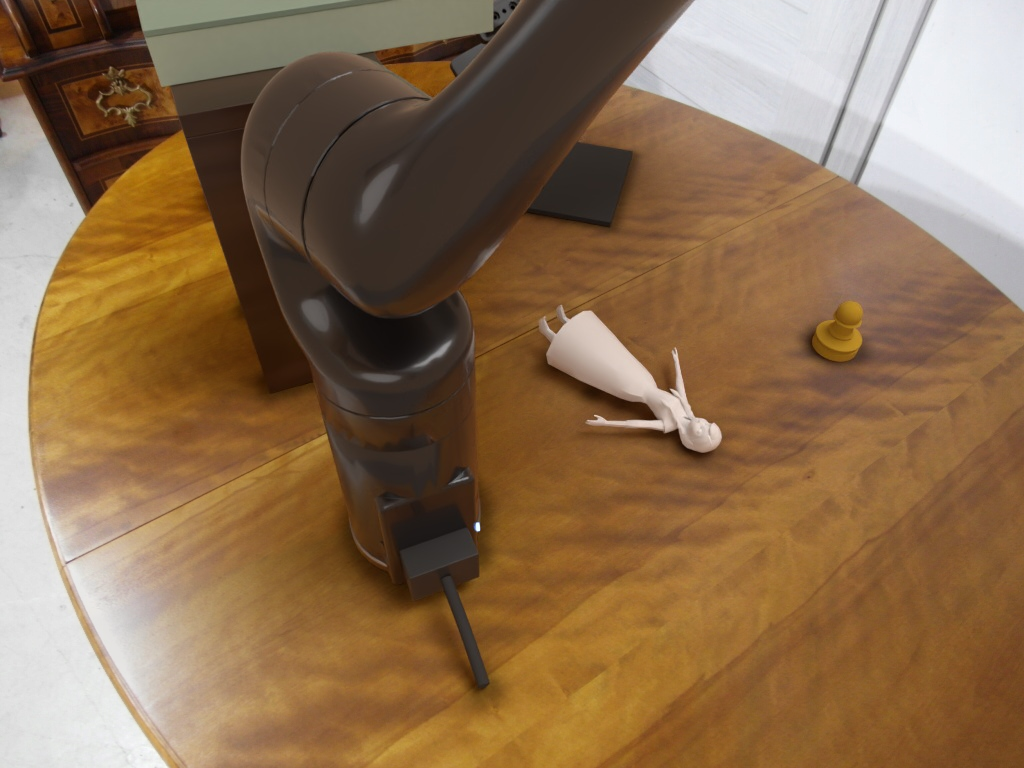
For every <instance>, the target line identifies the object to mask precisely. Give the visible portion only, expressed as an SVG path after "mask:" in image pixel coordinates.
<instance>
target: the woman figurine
mask: <svg viewBox="0 0 1024 768" xmlns="http://www.w3.org/2000/svg"><path fill="white" fill-rule="evenodd" d="M555 312H556V315H555V317H556V318H557V320H558V321H559V322H560V323H561V324H563V325H562V327H560V329H559V330H558V331H557V333H556V332H554V331H553V330H552V329H550V327H549V324H548V322H547V320H546V318H547V316H543V317H542V318H540V319H539V320H538V331H539V332H540V333H541V334H542V335H543V336H544V337H545V338H546V339H547V340H548V341H549V343H550V345H549V347H548V350H547V351H546V354H545V356H546V361H547V364H548V365H549V366H551V367H553V368H555V369H557V370H559V371H561V372H562V373H564V374H567V375H568V376H571V377H572V378H575V379H576V380H578V381H580V382H582V383H585V384H587V385H589V386H592V387H594V388H596V389H598V390H601V391H603V392H605V393H607V394H610V395H612V396H614V397H617V398H619V399H621V400H624V401H628V402H632V403H633V402H634V403H635V402H637V403H638V402H639V403H643V404H646V405H647V406H648V408H649V409H650V411H652V413H653V415H654V417H655V418H656V419H653V420H649V419H647V420H645V419H627V420H626V419H625V420H606V419H605V418H604V417H602V416H600V415H597V414H594V415H593V417H595V418H597V419H596V420H591V419H586V421H585V424H586V425H588V426H593V427H616V428H617V427H618V428H626V429H648V430H656V431H660V432H662V433H663V434H667V433H670V432H675V431H677V430H678V435H679V438H680V441H681V443H682V445H683V446H684V447H685V448H686V449H688V450H691V451H695V452H697V453H701V454H703V453H708V452H712V451H715V450H716V449H717V448H718V447H719V445H720V444H721V442H722V439H723V434H722V431H721V429H720V427H719V426H718V425H717V424H716V423H715V422H712V423H711V422H708V420H707V419H705V418H702V417H696V416H695V415H694V412H693V411H692V406H691V404H689V401H688V398H687V394H686V389H685V385H684V384H685V383H684V379H683V375H682V371H681V366H680V360H679V354H678V351H677V347H673V349H672V350H671V355H672V357H673V364H674V371H675V389H673V388H669V390H670V392H671V393H670V392H669V391H666V390H663V389H661V388H658V386H657V383H656V381H655V379H654V377H653V375H652V374H651V372H650V371H649V370H648V369H647V367H645V366H644V365H643V364H642V363H641V362H640V361H639V359H637V358H636V357H635V356H634V355H633V354H632V353H631V352H630V351H629V350H628V349H627V348H626V347H625V345H624V344H623V343H622V342H621V341H620V340H619V339H618V338H617V336H616V335H615V334H614V333H613V332H612V331H611V330H610V328H608V326H607V325H606V324H605V323H604V322H603V321H602V320H601V319H600V318H599V317H598V315H596V313H594V312H593V310H582V311H581V312H579V313H577V314H576V315H573V316H572V318H568V317H567V315H566V314H565V310H564V308H563V304H560V305H558V306H557V307H556V310H555Z"/></svg>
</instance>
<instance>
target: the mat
mask: <svg viewBox="0 0 1024 768" xmlns="http://www.w3.org/2000/svg"><path fill="white" fill-rule="evenodd" d="M633 153H634V151H633V150H629V149H622V148H617V147H610V146H603V145H597V144H593V143H592V144H591V143H587V142H586V143H585V142H579V141H578V142H577V143H576V144H575V146H574V147H573V148H572V150H571V151H570V153H569V154H568V155H567V157H566V158H565V159H564V161H563V162H562V163H561V165H560V166H559V167H558V169H557V170H556V171H555V173H554V174H553V176H552V177H551V178H550V180H549V181H548V182H547V184H546V185H545V186H544V188H543V189H542V190H541V192H540V193H539V194H538V196H537V197H536V199H535V200H534V201H533V203H532V204H531V205H530V207H529V208H528V209H527V211H526V212H525V213H530V214H535V215H540V216H548V217H553V218H558V219H564V220H569V221H575V222H580V223H586V224H592V225H597V226H603V227H609V228H610V227H611V226H612V223H613V220H614V216H615V213H616V210H617V207H618V203H619V200H620V198H621V197H620V196H621V193H622V190H623V187H624V183H625V180H626V177H627V175H628V170H629V167H630V164H631V160H632V157H633Z"/></svg>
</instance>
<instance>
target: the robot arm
mask: <svg viewBox="0 0 1024 768" xmlns="http://www.w3.org/2000/svg"><path fill="white" fill-rule="evenodd" d="M695 1H696V0H497V1H495V2H493V31H492V32H486V33H480V34H475V36H476V38H477V40H478V41H479V44H477V45H475V46H473V47H471V48H469V49H468V50H466V51H464V52H463V53H460V54H459V55H457V56H455V57H454V58H452V59H451V61H450V64H449V69H450V71H451V72H452V75H454V77H455V78H454V79H452V81H450V83H448V84H447V85H446V86H445V87H444V88H443V89H442V90H440V91H439V93H437V94H436V95H435V96H434V97H433V96H431V95H429V94H428V93H426V92H425V91H423V90H422V89H420V88H419V87H417V86H415V85H414V84H412V83H410V82H409V81H407V80H406V79H405V78H404V77H402V76H400V75H399V74H397V73H396V72H394V71H392V70H391V69H389V68H387V67H385V66H384V65H383V64H382V65H383V66H382V65H380V64H379V63H377V62H375V61H373V60H370V59H368V58H365V57H363V56H360V55H357V54H353V53H348V52H340V51H332V52H321V53H315V54H312V55H308V56H305V57H303V58H300V59H297V60H296V61H294V62H292V63H290V64H288V65H287V66H286V67H284V68H283V69H282V70H280V71H279V72H278V73H277V74H276V75H275V76H274V77H273V78H272V79H271V80H270V81H269V82H268V83H267V84H266V85H265V87H264V88H263V90H262V91H261V92H260V94H259V96H258V97H257V99H256V101H255V103H254V105H253V107H252V109H251V111H250V113H249V116H248V119H247V122H246V125H245V129H244V133H243V138H242V145H241V176H242V184H243V190H244V195H245V200H246V204H247V208H248V211H249V215H250V219H251V222H252V225H253V229H254V232H255V235H256V238H257V241H258V244H259V247H260V250H261V253H262V256H263V260H264V263H265V266H266V269H267V272H268V275H269V278H270V281H271V284H272V287H273V290H274V293H275V296H276V299H277V302H278V304H279V307H280V310H281V313H282V315H283V317H284V320H285V322H286V324H287V326H288V328H289V330H290V332H291V333H292V335H293V337H294V338H295V340H296V342H297V343H298V345H299V347H300V348H301V350H302V352H303V353H304V355H305V357H306V359H307V361H308V364H309V367H310V371H311V374H312V378H313V385H314V389H315V394H316V397H317V400H318V404H319V409H320V412H321V413H320V414H321V417H322V420H323V424H324V425H323V426H324V428H325V432H326V435H327V439H328V444H329V447H330V451H331V455H332V458H333V463H334V466H335V470H336V475H337V477H338V481H339V485H340V489H341V493H342V496H343V500H344V504H345V508H346V511H347V515H348V521H349V522H348V523H349V528H350V533H351V536H352V539H353V542H354V544H355V546H356V548H357V550H358V551H359V553H360V554H361V555H362V556H363V558H365V559H366V561H367V562H369V563H370V564H371V565H373V566H374V567H376V568H378V569H380V570H382V571H384V572H387V573H388V574H389V576H390V579H391V582H392V584H393V585H395V586H399V585H401V584H404V583H406V585H407V587H408V590H409V593H410V596H411V599H412V601H413V602H416V601H418V600H421V599H423V598H426V597H429V596H432V595H434V594H437V593H440V592H442V591H443V592H444V594H445V597H446V601H447V603H448V605H449V608H450V612H451V613H452V617H453V619H454V621H455V624H456V627H457V630H458V633H459V635H460V638H461V642H462V644H463V647H464V650H465V653H466V656H467V658H468V662H469V664H470V668H471V671H472V673H473V677H474V680H475V684H476V686H477V688H478V689H480V690H481V689H482V690H483V689H485V688H487V687H488V686H489V685H490V684H491V683H490V679H489V676H488V673H487V670H486V667H485V664H484V661H483V657H482V655H481V652H480V649H479V646H478V643H477V640H476V637H475V635H474V632H473V629H472V627H471V623H470V621H469V618H468V615H467V613H466V610H465V607H464V605H463V601H462V599H461V597H460V595H459V591H458V589H457V587H456V586H459V585H462V584H464V583H467V582H470V581H472V580H475V579H477V578H480V553H479V551H478V535H479V532H480V531H481V522H482V509H481V508H482V504H481V498H480V483H479V482H480V481H479V456H478V455H479V453H478V452H479V451H478V418H477V416H478V415H477V375H476V373H477V371H476V333H475V322H474V318H473V313H472V311H471V309H470V306H469V304H468V301H467V300H466V298H465V296H464V295H463V292H462V291H461V290H460V289H461V288H463V286H464V285H465V284H466V283H468V281H469V280H470V279H471V278H473V276H474V275H475V274H476V273H477V272H478V271H479V270H480V269H481V268H482V267H483V266H484V265H485V264H486V263H487V262H488V260H489V259H490V258H491V257H492V256H493V255H494V253H495V252H496V251H497V250H498V249H499V247H500V246H501V245H502V244H503V242H504V241H505V240H506V239H507V237H508V236H509V235H510V234H511V232H512V231H513V229H515V227H516V225H517V224H518V223H519V221H520V220H521V219H522V218H523V216H524V215H525V213H527V212H526V211H527V209H528V208H529V207H530V205H531V204H532V203H533V201H534V200H535V199H536V197H537V196H538V194H539V193H540V192H541V190H542V189H543V188H544V186H545V185H546V184H547V182H548V181H549V180H550V178H551V177H552V176H553V174H554V173H555V171H556V170H557V169H558V167H559V166H560V165H561V163H562V162H563V161H564V159H565V158H566V157H567V155H568V154H569V153H570V151H571V150H572V148H573V147H574V146H575V144H576V143H577V142H579V140H580V139H581V138H582V136H583V135H584V133H585V132H586V131H587V130H588V128H589V127H590V126H591V125H592V123H593V122H594V120H595V119H596V118H597V116H598V115H599V114H600V112H601V111H602V110H603V109H604V107H605V106H606V105H607V104H608V102H609V101H610V100H611V99H612V98H613V96H614V95H615V94H616V93H617V92H618V90H619V89H620V88H621V87H622V86H623V84H624V83H625V82H626V81H627V80H628V78H629V77H630V76H631V75H632V74H633V73H634V71H635V70H636V69H637V68H638V67H639V66H640V64H641V63H642V62H643V61H644V59H645V58H646V57H647V56H648V55H649V53H650V52H651V51H653V49H654V48H655V47H656V45H657V44H659V42H660V41H661V40H662V39H663V38H664V36H666V34H667V33H668V32H669V31H670V30H671V28H672V27H674V25H675V24H676V23H677V22H678V20H679V19H680V18H681V17H682V16H683V15H684V14H685V12H686V11H687V10H688V9H689V8H690V7H691V6H692V5H693V4H694V3H695Z"/></svg>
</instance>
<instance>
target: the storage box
mask: <svg viewBox="0 0 1024 768" xmlns="http://www.w3.org/2000/svg"><path fill="white" fill-rule="evenodd" d="M135 3H136V4H135V6H136V9H137V13H138V17H139V23H140V27H141V30H142V34H143V37H144V40H145V42H146V45H147V48H148V52H149V54H150V55H149V56H150V57H151V60H152V64H153V66H154V69H155V72H156V75H157V78H158V81H159V84H160V86H161V88H164V87H165V88H167V87H170V86H172V85H177V84H183V83H189V82H195V81H201V80H207V79H213V78H219V77H225V76H231V75H237V74H243V73H249V72H255V71H261V70H267V69H272V68H278V67H284V66H287V65H288V64H290V63H292V62H294V61H296V60H297V59H300V58H303V57H305V56H308V55H312V54H315V53H321V52H332V51H340V52H348V53H353V54H361V53H367V52H373V51H374V52H378V51H379V52H380V51H385V50H390V49H397V48H403V47H408V46H409V47H410V46H414V45H420V44H425V43H432V42H439V41H444V40H451V39H456V38H462V37H467V36H473V35H476V34H480V33H486V32H492V31H493V0H135Z"/></svg>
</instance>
